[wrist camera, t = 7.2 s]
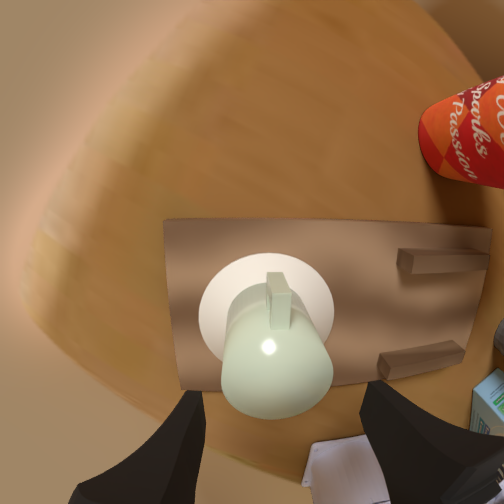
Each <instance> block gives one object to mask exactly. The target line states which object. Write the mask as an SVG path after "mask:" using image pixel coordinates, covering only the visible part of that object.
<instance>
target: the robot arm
mask: <svg viewBox="0 0 504 504" xmlns="http://www.w3.org/2000/svg"><path fill="white" fill-rule="evenodd" d="M359 414H360V418H361V422H362V425H363V428H364V432H365V435H360V436H355V437H350V438H344V439H338V440H331V441H324V442H317V443H314V444H312V446H311V449H310V453H309V457H308V461H307V465H306V469H305V472H304V476H303V479H302V483H301V485H302V487H308V486H310V489H311V494H312V499H313V503H314V504H504V479H503V480H502V481H501V482H499V483H497V481H496V480H497V479H498V477H499V476H498V474H497V473H496V472H497V470H498V469H499V468H500V467H501V466H502V464H503V463H504V436H496V435H488V434H482V433H478V432H473V431H470V430H466V429H463V428H460V427H457V426H455V425H452V424H450V423H447V422H445V421H443V420H441V419H439V418H437V417H435V416H433V415H431V414H430V413H428V412H426V411H425V410H423V409H421V408H420V407H418V406H417V405H415V404H414V403H412V402H411V401H409V400H408V399H407V398H405V397H404V396H402V395H401V394H400V393H398V392H397V391H396V390H394V389H393V388H392V387H390V386H389V385H388V384H386V383H385V382H383V381H382V380H375V381H369V382H368V385H367V389H366V393H365V396H364V399H363V403H362V406H361V409H360V412H359ZM205 430H206V419H205V412H204V405H203V398H202V391H192V390H187V391H186V392H185V393H184V395H183V396H182V398H181V399H180V401H179V402H178V404H177V405H176V407H175V408H174V410H173V411H172V412H171V414H170V415H169V416H168V418H167V419H166V420H165V421H164V423H163V424H162V425H161V426H160V427H159V428H158V430H157V431H156V432H155V433H154V434H153V435H152V436H151V437H150V438H149V439H148V440H147V441H146V442H145V443H144V444H143V445H142V446H141V447H140V448H138V449H137V450H136V451H135V452H134V453H132V454H131V455H130V456H128V457H127V458H126V459H124V460H123V461H122V462H120V463H119V464H117V465H116V466H114V467H112V468H110V469H109V470H107V471H105V472H104V473H102V474H100V475H98V476H96V477H93V478H91V479H89V480H87V481H84V482H82V483H79V484H78V485H77V487H76V489H75V490H74V491H73V494H72V496H71V498H70V500H69V503H68V504H194V502H195V489H196V483H197V477H198V473H199V468H200V463H201V458H202V453H203V448H204V443H205Z"/></svg>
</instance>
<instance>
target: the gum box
mask: <svg viewBox="0 0 504 504" xmlns="http://www.w3.org/2000/svg"><path fill="white" fill-rule="evenodd" d="M470 431H473V432H478V433H482V434H488V435H496V436H504V372H503V371H501V370H500V369H499V368H496V369H495V370H494V371H493V372H492V373H491V374H490V375H489V376H487V377H486V378H485V379H484V380H482V381H481V382H480V383H479V384H478V385H477V386H475V387H474V388H473V400H472V413H471V422H470ZM496 473H497V474H498V476H499V477H498V479H497V480H496V481H497V483H499V482H501V481H502V480H503V479H504V463H503V464H502V466H501V467H500V468H499V469H498V470H497V472H496Z"/></svg>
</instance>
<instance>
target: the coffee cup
mask: <svg viewBox="0 0 504 504" xmlns="http://www.w3.org/2000/svg"><path fill="white" fill-rule="evenodd" d="M418 138H419V144H420V148H421V151H422V154H423V156H424V158H425V160H426V162H427V163H428V165H429V166H430V167H431V168H432V169H433V170H434V171H435V172H436V173H437V174H439V175H441V176H443V177H445V178H449V179H453V180H459V181H464V182H469V183H475V184H480V185H485V186H490V187H495V188H500V189H504V75H503V76H501V77H498V78H496V79H493V80H490V81H488V82H485V83H483V84H480V85H478V86H475V87H473V88H470V89H468V90H465V91H463V92H461V93H458V94H456V95H454V96H451V97H449V98H447V99H445V100H443V101H440V102H438V103H436V104H434V105H433V106H431V107H429V108H428V109H427V110H426V111H425V112H424V113H423V115H422V116H421V119H420V122H419V127H418Z"/></svg>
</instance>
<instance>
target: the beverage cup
mask: <svg viewBox="0 0 504 504" xmlns="http://www.w3.org/2000/svg"><path fill="white" fill-rule="evenodd" d="M494 346H495V347H496V348H497V349H498V350H499V351H500V352H501V354H502V355H503V356H504V319H503V320H502V321H501V323H500V325H499V326H498V328H497V331H496V333H495V336H494Z"/></svg>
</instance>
